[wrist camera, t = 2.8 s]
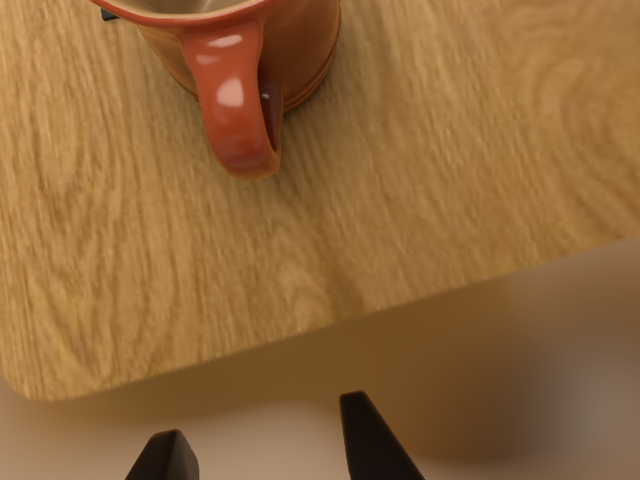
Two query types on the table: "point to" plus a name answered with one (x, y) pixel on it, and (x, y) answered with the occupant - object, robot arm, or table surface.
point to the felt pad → (107, 15)
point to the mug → (240, 65)
